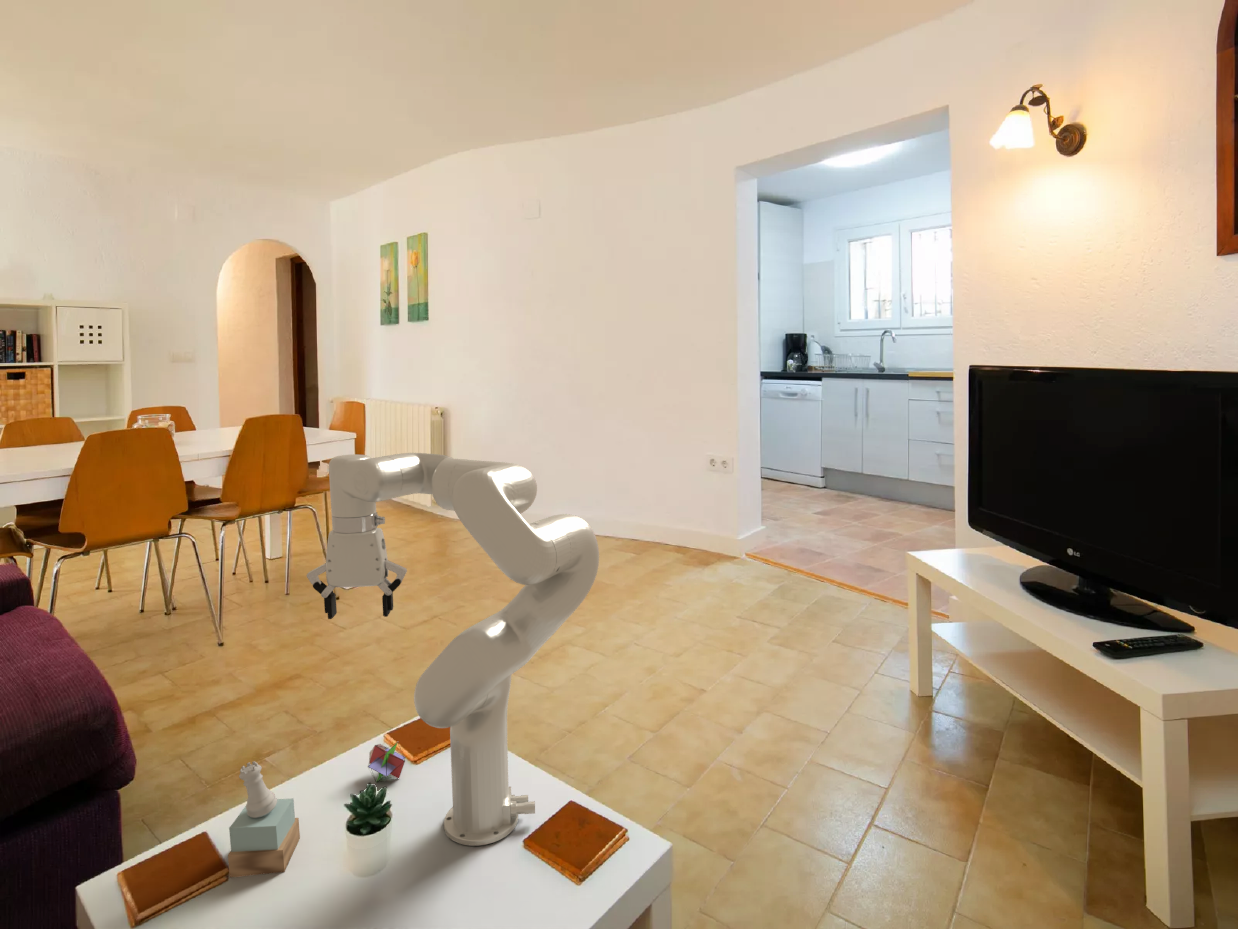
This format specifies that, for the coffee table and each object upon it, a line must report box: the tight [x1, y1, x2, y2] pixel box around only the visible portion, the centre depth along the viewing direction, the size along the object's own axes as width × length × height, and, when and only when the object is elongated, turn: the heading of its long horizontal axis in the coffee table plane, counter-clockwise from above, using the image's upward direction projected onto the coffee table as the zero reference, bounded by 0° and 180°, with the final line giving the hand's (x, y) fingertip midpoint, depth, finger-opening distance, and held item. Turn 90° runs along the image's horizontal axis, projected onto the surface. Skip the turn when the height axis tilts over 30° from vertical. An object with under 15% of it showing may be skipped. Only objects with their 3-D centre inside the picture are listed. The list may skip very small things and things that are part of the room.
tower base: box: [227, 817, 301, 879], centre depth 112 cm, size 8×8×4 cm
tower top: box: [228, 797, 296, 852], centre depth 111 cm, size 7×7×4 cm
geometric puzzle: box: [367, 741, 406, 783], centre depth 134 cm, size 7×7×8 cm
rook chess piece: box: [238, 761, 278, 818], centre depth 110 cm, size 4×4×8 cm
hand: (359, 615), depth 127 cm, fingers open, 9 cm apart
